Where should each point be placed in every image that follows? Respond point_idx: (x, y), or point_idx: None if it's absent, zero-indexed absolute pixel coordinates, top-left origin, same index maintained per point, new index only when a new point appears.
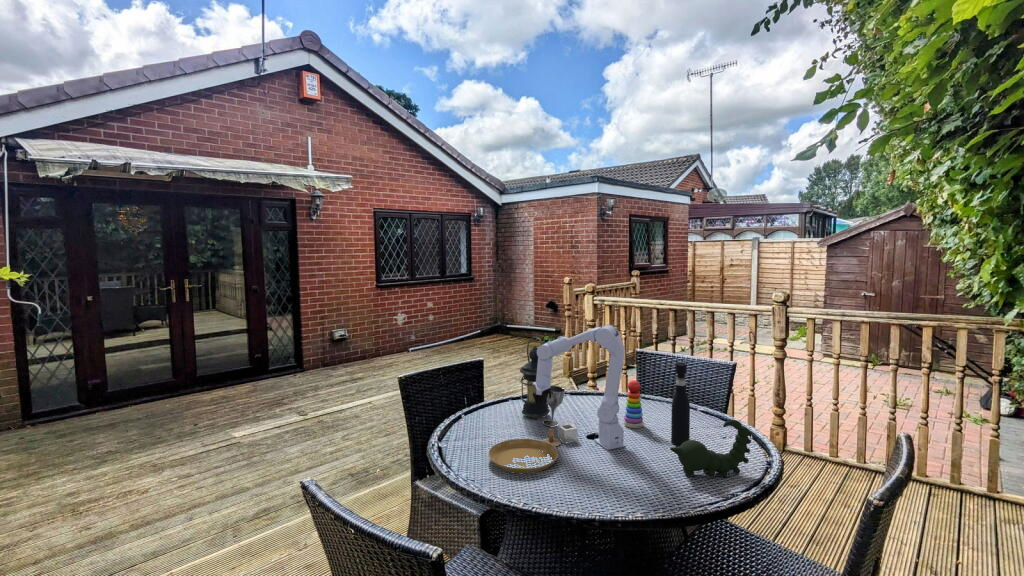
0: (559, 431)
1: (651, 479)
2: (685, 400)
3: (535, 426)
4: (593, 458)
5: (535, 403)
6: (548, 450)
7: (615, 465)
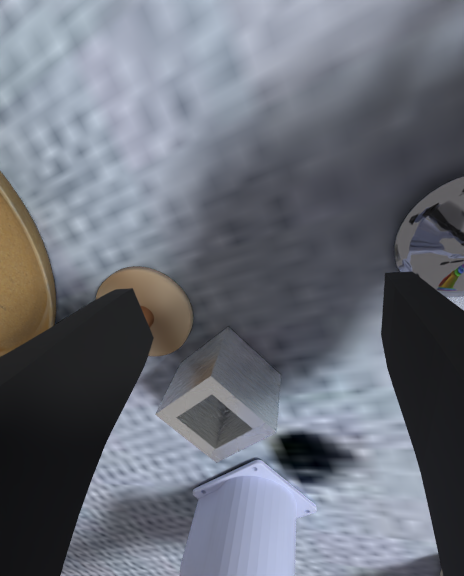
0: (205, 364)
1: (86, 543)
2: None
3: (390, 124)
4: (112, 454)
5: (38, 338)
6: (45, 328)
7: (105, 497)
